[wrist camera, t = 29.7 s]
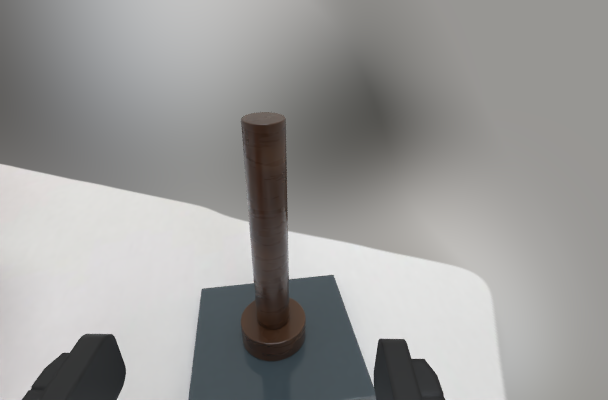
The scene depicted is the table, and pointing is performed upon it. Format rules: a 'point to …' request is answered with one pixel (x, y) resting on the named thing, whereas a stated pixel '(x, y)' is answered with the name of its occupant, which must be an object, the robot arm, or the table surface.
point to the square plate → (283, 373)
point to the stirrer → (269, 242)
